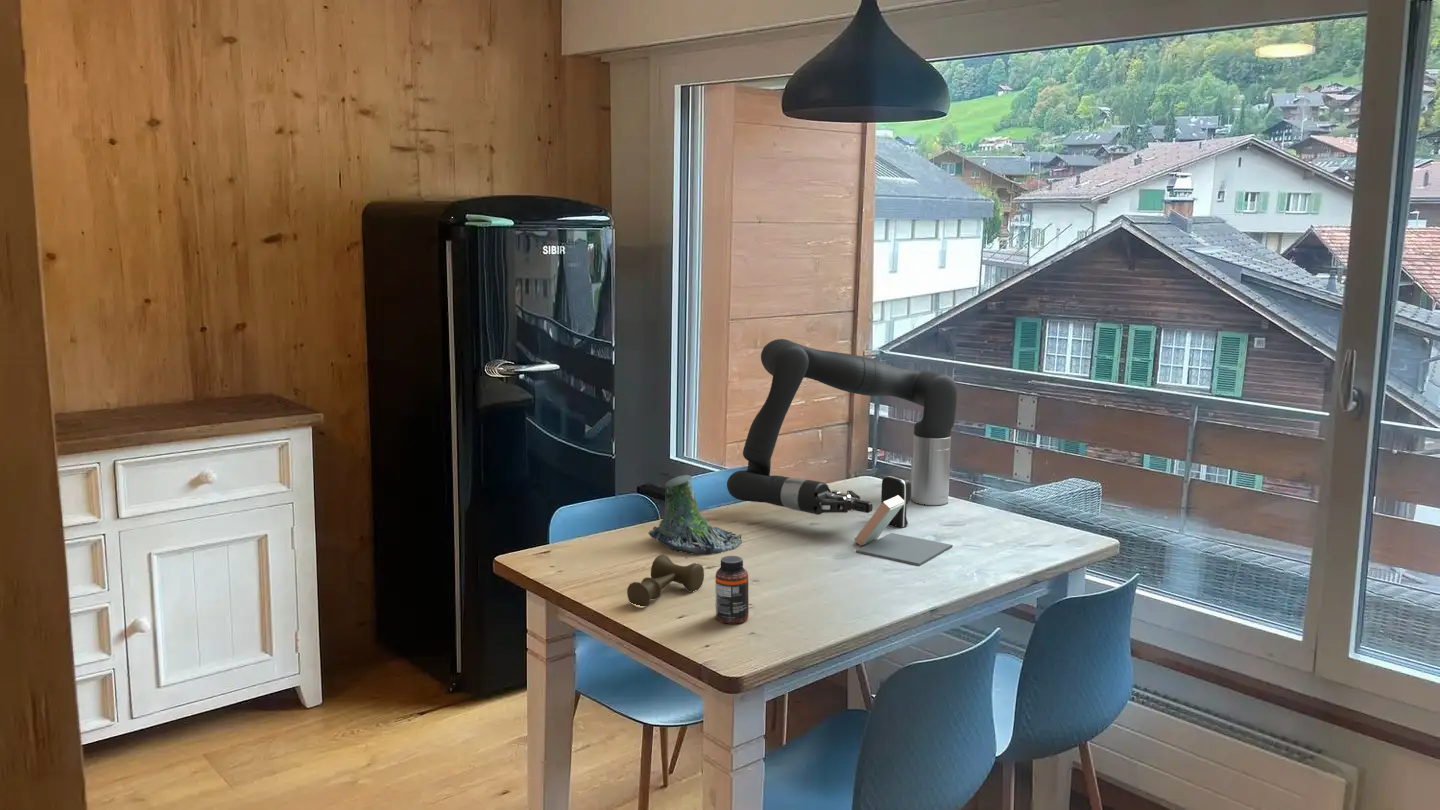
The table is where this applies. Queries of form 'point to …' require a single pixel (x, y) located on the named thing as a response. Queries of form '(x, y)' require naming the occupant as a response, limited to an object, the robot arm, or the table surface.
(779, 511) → the table surface
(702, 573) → the kendama
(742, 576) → the supplement bottle
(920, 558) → the mat
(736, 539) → the tree stump
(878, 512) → the tile
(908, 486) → the battery charger
